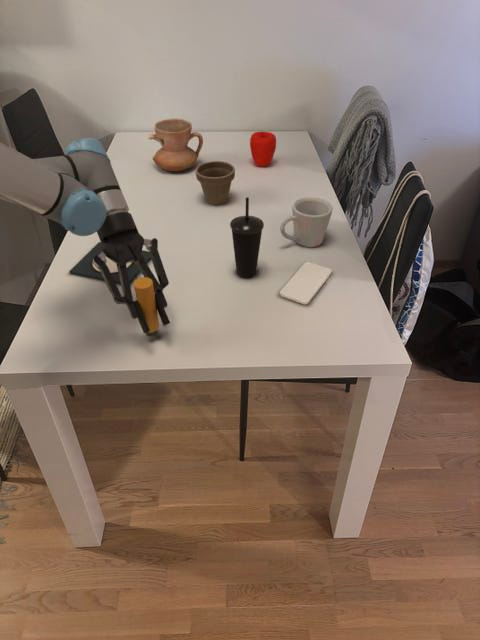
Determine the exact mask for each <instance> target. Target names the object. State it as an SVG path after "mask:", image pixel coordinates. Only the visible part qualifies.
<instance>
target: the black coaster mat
mask: <svg viewBox="0 0 480 640" xmlns="http://www.w3.org/2000/svg"><path fill="white" fill-rule="evenodd" d="M101 252H102V244H101V241H99V242H98V243H96V244H95V245H94V246H93V247H92V248H91V250H89V251H88V253H86V254H85V255H84V256H83V257H82V258H81V259H80V260H79V261H78V262H77V263H76V264H75V265H74V266H73V267H72V268H71V269H70V270H69V274H70V275H74V276H79V277H82V278H88V279H92V280H98V281H102V282H105V280H104V278H103V276H102V274H101V272H100V270H99V269H98V268H97V267H96V266H95V265H94V264H93V259H94V257H95V256H98V255H99V254H100V253H101ZM141 254H142V256H143V257H144V259H145V262H146V263H147V264H148V263H149V262H150V260H151V257H150V253H149V251H148V250H143V249H142V252H141ZM105 258H106V260H107V262H106V265H107V266H108V268H109V270H110V273H111V275H112V277H113V279H114V281H115V283H116V285H121V281H120V276H119V272H118V269H117V264H116V263H115V262H113V261H112V260H110V259H109V258H107V257H105ZM126 268H127V273H128V278H129V283H130V285H131V284H132V282H133V281H135V280H136V278H137V277H138V275H139V274H140V273H141V271H140V270H139V268H138V266H136V264H135V263H134V262H128V263H127V264H126Z"/></svg>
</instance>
